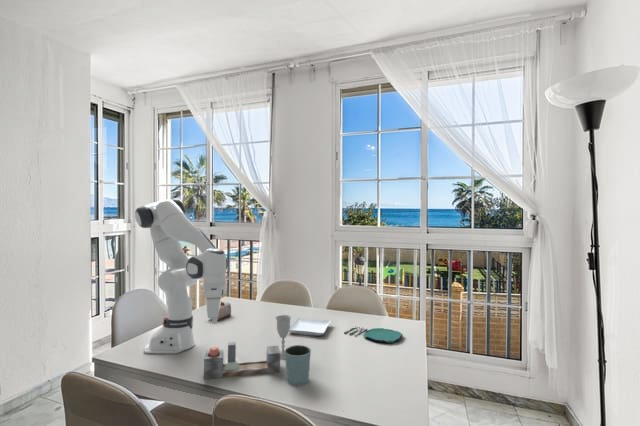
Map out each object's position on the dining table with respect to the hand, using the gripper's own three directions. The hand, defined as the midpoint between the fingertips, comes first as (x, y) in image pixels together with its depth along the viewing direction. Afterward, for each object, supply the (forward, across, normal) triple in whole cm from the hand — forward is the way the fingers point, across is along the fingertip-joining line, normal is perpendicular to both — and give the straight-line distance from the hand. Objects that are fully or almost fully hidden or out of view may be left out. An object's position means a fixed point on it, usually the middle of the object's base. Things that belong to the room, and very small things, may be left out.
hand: (214, 322), depth 140 cm
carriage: (+19, 0, +7) cm, 20 cm away
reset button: (+15, 0, 0) cm, 15 cm away
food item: (+21, -76, -2) cm, 79 cm away
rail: (+21, 0, +11) cm, 24 cm away
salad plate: (+22, -44, +48) cm, 69 cm away
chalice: (+21, -11, +29) cm, 38 cm away
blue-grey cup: (+21, +12, +32) cm, 41 cm away
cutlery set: (+22, -30, +81) cm, 89 cm away
